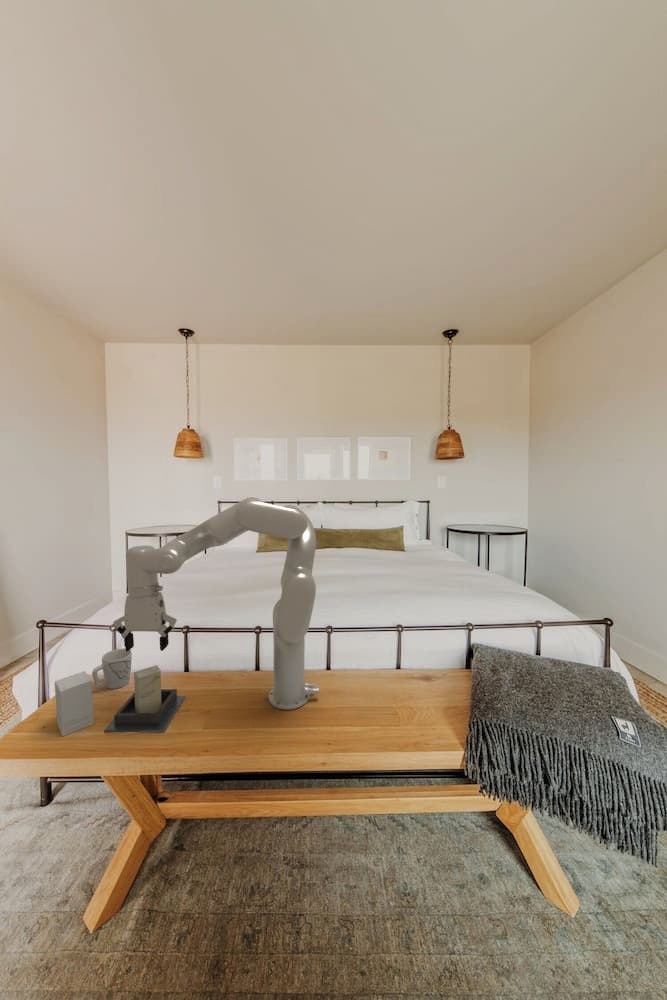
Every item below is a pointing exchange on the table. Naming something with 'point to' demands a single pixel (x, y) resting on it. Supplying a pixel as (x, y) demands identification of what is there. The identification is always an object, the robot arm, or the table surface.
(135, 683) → the skincare box
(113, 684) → the mug
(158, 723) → the sleeve holder
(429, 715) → the table surface
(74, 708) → the supplement box
